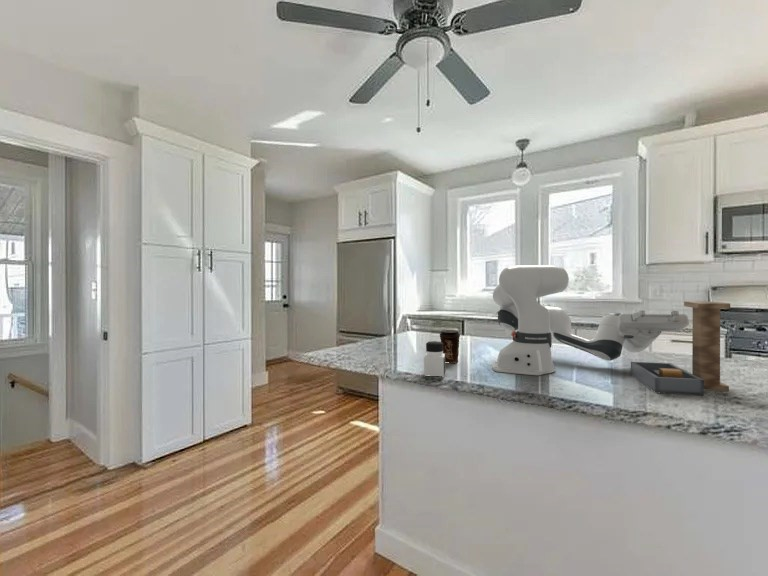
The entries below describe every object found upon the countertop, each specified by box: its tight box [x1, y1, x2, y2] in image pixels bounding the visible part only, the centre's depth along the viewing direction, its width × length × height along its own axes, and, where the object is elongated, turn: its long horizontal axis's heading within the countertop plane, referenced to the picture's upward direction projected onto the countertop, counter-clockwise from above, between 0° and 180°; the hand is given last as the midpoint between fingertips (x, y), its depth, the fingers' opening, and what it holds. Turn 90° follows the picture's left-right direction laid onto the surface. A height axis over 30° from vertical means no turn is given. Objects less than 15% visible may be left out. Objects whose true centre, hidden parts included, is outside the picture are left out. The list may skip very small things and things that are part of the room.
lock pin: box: [651, 368, 682, 378], centre depth 125 cm, size 5×15×5 cm, turn 162°
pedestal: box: [683, 301, 731, 392], centre depth 120 cm, size 8×9×26 cm
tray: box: [630, 361, 705, 397], centre depth 124 cm, size 12×22×4 cm, turn 164°
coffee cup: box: [439, 329, 461, 364], centre depth 161 cm, size 9×8×13 cm
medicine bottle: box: [423, 340, 446, 377], centre depth 141 cm, size 7×7×12 cm
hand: (659, 312), depth 127 cm, fingers open, 8 cm apart
